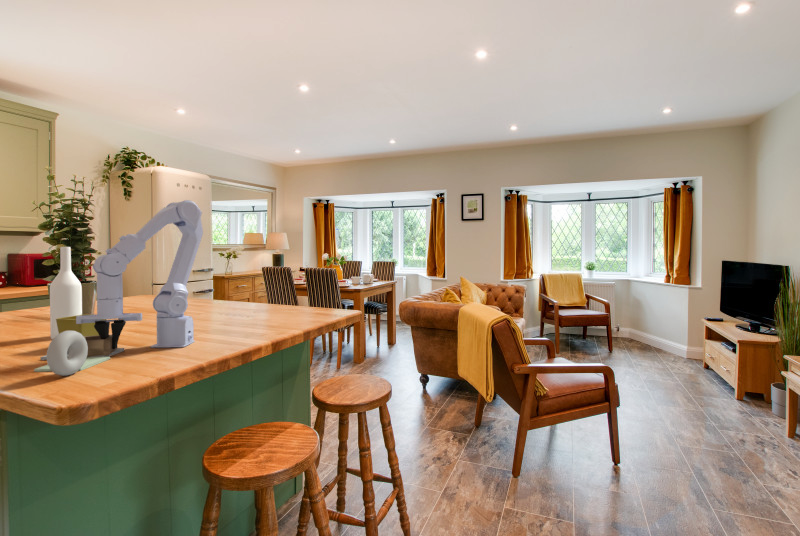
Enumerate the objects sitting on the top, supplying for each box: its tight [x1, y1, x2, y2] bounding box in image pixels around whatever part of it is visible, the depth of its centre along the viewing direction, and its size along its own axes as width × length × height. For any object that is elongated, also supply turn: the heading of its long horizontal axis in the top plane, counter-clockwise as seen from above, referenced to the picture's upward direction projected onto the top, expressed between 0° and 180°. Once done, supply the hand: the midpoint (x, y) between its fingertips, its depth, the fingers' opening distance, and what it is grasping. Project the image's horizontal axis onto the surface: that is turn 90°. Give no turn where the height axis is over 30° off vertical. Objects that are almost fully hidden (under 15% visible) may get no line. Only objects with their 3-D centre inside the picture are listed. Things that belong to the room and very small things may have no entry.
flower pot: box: [56, 313, 108, 336], centre depth 119 cm, size 9×9×9 cm
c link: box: [84, 334, 118, 357], centre depth 108 cm, size 8×9×4 cm
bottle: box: [49, 246, 83, 340], centre depth 132 cm, size 8×8×30 cm
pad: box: [33, 356, 111, 373], centre depth 98 cm, size 10×11×1 cm
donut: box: [46, 331, 88, 377], centre depth 90 cm, size 10×4×10 cm, turn 5°
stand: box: [39, 347, 125, 361], centre depth 108 cm, size 15×10×4 cm, turn 95°
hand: (110, 348), depth 109 cm, fingers closed on c link
